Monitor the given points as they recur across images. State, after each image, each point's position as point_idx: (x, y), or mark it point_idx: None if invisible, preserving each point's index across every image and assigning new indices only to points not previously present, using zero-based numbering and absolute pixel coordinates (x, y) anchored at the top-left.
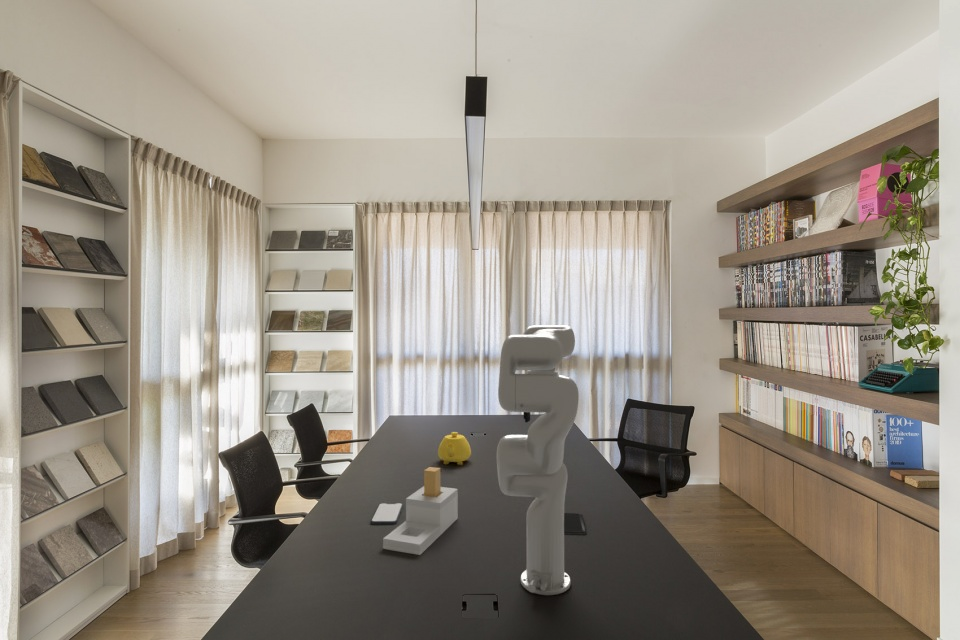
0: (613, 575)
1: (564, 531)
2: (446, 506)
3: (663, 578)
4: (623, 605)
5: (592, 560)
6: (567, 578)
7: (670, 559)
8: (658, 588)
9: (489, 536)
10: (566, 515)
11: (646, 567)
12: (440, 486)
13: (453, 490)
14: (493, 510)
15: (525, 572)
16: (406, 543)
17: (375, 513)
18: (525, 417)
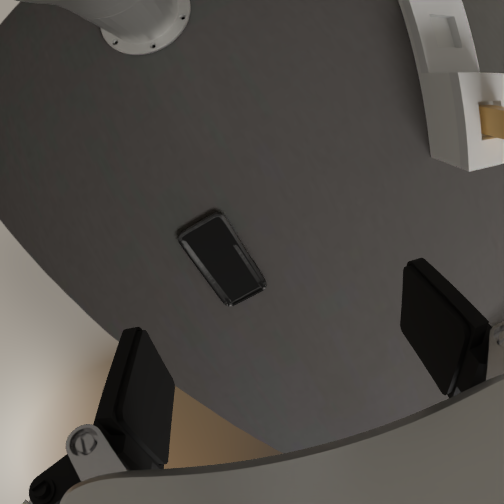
0: (63, 117)
1: (214, 214)
2: (451, 105)
3: (12, 166)
4: (25, 53)
5: (112, 140)
6: (109, 37)
7: (30, 232)
8: (6, 133)
9: (341, 111)
10: (251, 286)
11: (39, 181)
12: (493, 136)
13: (471, 157)
14: (392, 229)
15: (184, 5)
16: None
17: None
18: (438, 276)
